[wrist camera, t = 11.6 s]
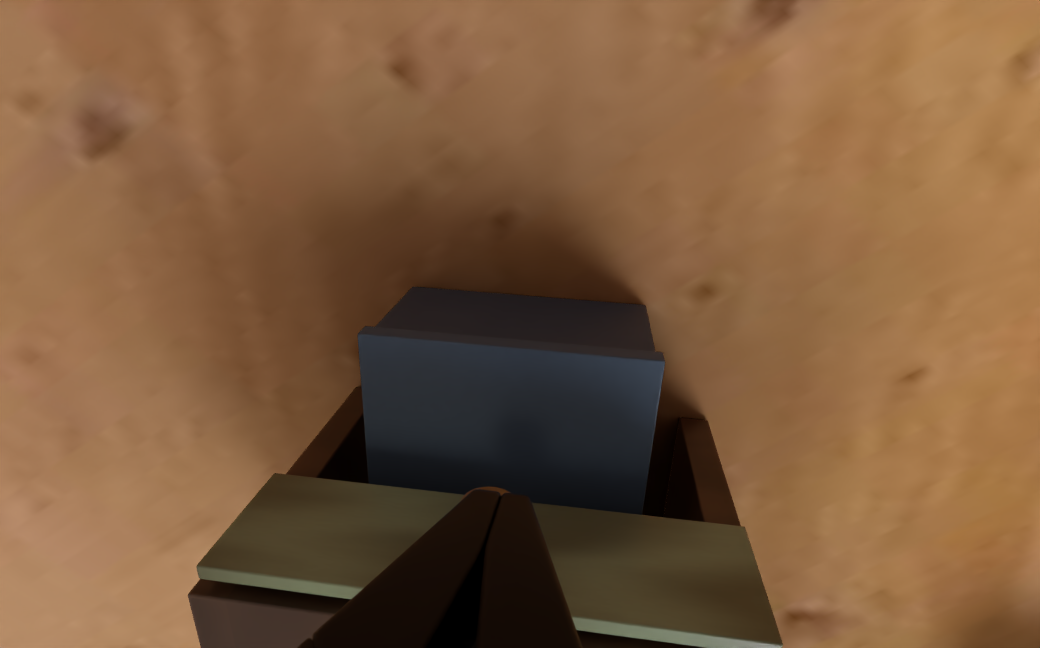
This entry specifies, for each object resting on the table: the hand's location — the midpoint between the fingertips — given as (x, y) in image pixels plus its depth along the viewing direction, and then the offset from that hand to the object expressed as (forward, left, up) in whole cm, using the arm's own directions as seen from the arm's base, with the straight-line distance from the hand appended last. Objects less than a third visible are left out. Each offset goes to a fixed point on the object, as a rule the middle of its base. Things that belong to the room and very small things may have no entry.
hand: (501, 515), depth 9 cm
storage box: (+1, +7, -12) cm, 13 cm away
